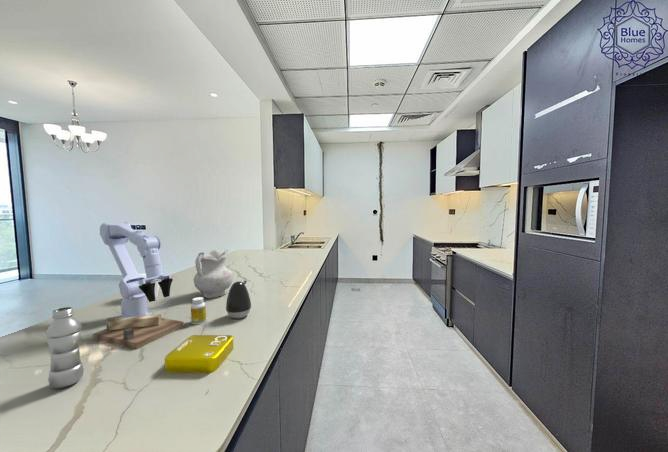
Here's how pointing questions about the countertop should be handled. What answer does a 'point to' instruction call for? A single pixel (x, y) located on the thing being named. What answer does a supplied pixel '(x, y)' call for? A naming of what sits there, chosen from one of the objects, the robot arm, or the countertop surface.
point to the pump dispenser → (238, 300)
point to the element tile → (199, 354)
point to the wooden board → (138, 333)
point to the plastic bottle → (64, 349)
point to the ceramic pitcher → (212, 274)
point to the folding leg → (132, 322)
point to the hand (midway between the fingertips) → (159, 299)
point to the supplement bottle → (198, 311)
